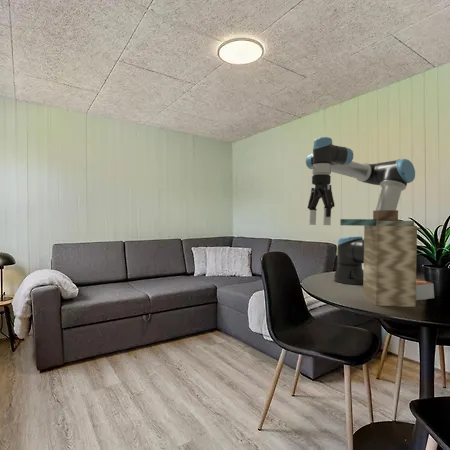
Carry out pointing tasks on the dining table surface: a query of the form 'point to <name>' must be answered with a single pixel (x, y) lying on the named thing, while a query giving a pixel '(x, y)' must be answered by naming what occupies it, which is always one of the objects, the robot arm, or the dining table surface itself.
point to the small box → (424, 290)
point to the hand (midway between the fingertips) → (319, 225)
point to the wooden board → (390, 263)
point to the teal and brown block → (377, 216)
